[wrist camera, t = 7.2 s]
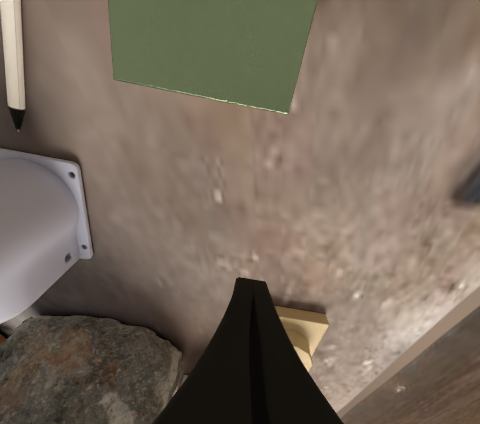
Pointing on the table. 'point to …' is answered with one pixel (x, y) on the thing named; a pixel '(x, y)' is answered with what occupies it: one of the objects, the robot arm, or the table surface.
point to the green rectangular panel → (213, 47)
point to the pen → (13, 58)
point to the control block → (303, 331)
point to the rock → (85, 372)
